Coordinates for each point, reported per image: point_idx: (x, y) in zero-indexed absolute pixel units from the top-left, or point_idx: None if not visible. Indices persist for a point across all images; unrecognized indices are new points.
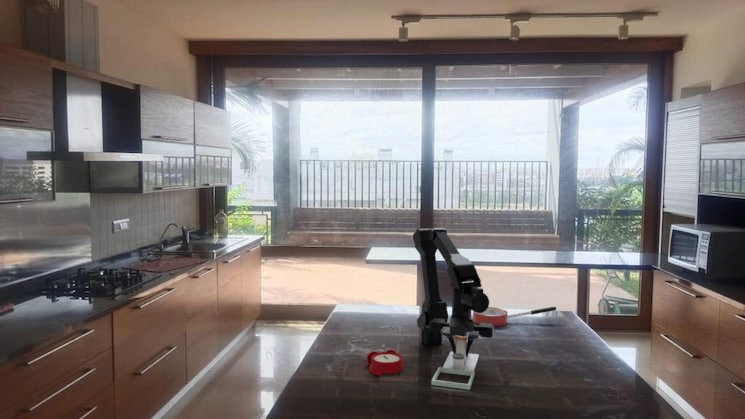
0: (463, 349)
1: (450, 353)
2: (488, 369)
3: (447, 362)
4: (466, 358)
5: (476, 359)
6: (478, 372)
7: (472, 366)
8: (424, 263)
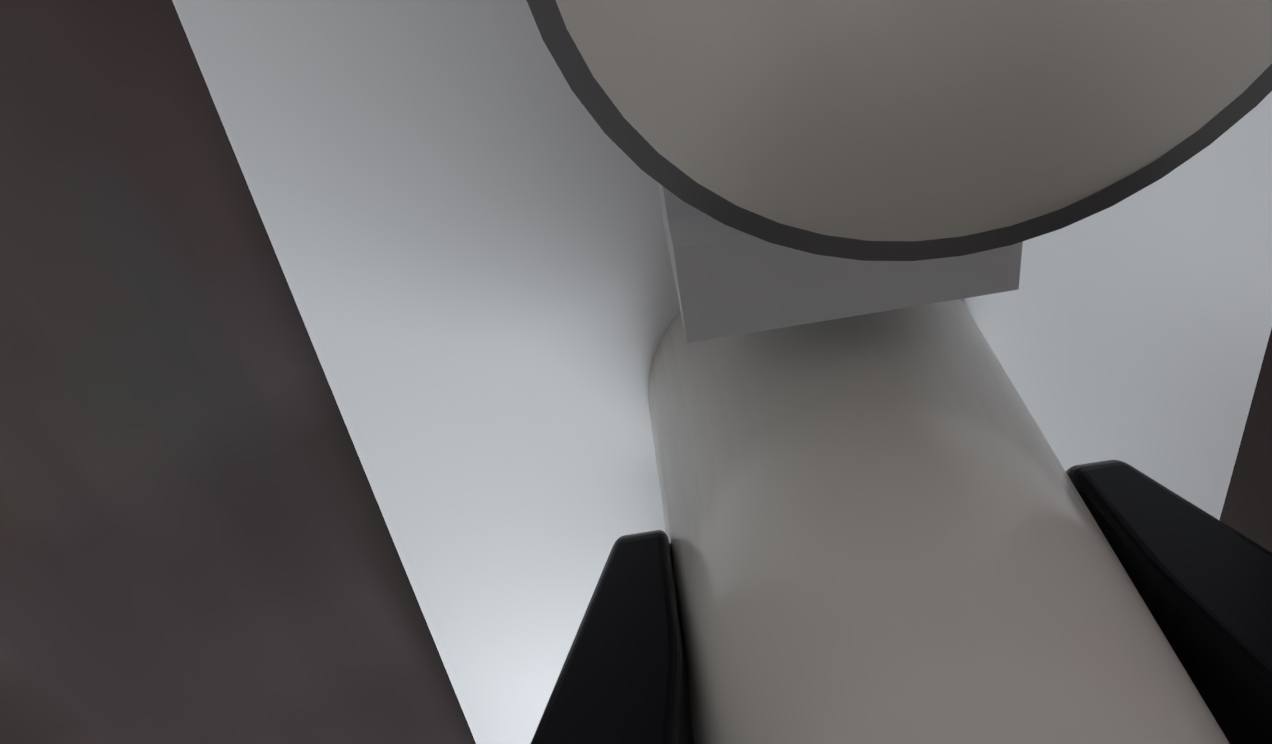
0: (809, 706)
1: None
2: (10, 409)
3: (1233, 184)
4: None
5: (478, 685)
6: (107, 67)
7: (360, 233)
8: None
